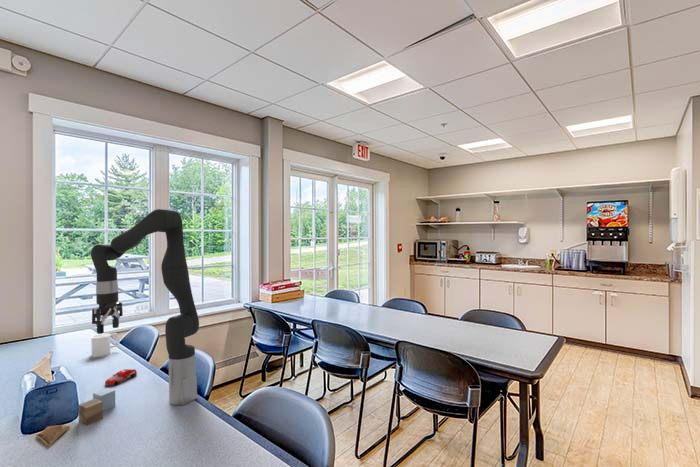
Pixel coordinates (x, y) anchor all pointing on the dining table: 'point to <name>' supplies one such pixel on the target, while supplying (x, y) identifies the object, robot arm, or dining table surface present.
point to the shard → (52, 434)
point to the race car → (121, 377)
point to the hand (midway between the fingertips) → (108, 330)
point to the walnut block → (90, 411)
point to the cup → (102, 344)
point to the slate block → (106, 397)
